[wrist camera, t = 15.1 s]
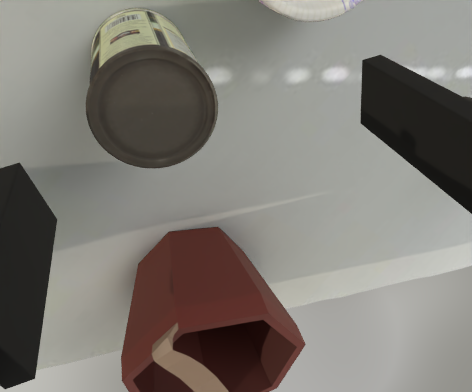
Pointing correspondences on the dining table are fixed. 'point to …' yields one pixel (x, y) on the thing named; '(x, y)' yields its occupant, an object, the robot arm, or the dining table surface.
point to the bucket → (205, 320)
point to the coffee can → (148, 91)
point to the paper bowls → (310, 8)
